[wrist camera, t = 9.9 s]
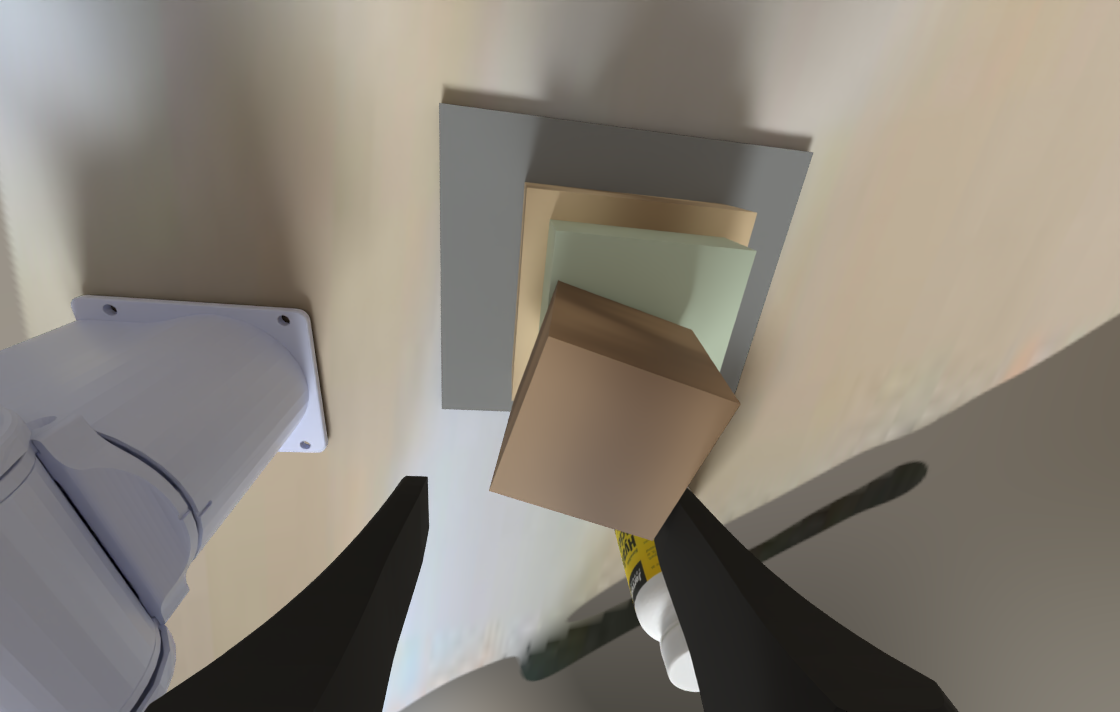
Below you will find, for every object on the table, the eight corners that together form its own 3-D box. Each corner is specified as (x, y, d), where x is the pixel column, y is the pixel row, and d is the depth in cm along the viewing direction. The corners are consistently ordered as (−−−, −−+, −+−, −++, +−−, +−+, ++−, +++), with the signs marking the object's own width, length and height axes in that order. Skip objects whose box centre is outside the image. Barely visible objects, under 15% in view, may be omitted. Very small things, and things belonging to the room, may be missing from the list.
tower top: (533, 382, 19) (536, 413, 17) (549, 219, 16) (555, 230, 14) (683, 390, 20) (704, 420, 18) (724, 237, 17) (756, 251, 15)
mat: (443, 403, 23) (441, 408, 23) (441, 104, 17) (439, 102, 17) (722, 414, 25) (726, 419, 25) (806, 152, 19) (813, 152, 19)
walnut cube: (514, 399, 17) (489, 490, 12) (558, 280, 15) (548, 336, 10) (633, 439, 17) (652, 541, 13) (692, 329, 15) (740, 404, 11)
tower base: (511, 370, 22) (511, 400, 19) (524, 181, 18) (526, 187, 16) (678, 378, 23) (700, 408, 21) (723, 203, 19) (757, 212, 17)
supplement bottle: (602, 482, 27) (647, 646, 18) (687, 462, 27) (774, 616, 18) (615, 541, 29) (660, 712, 20) (693, 523, 29) (772, 686, 20)
